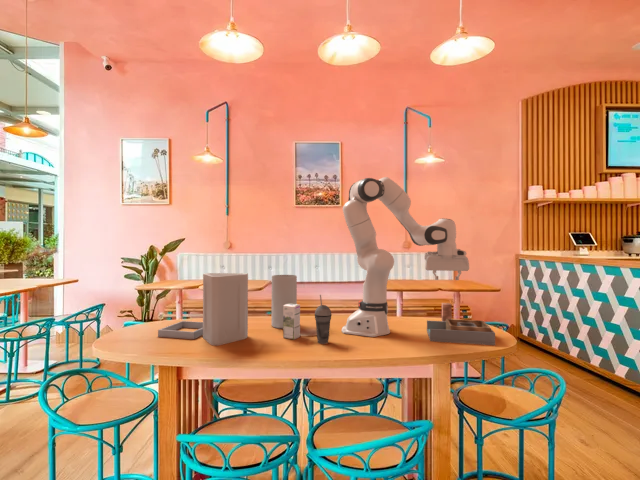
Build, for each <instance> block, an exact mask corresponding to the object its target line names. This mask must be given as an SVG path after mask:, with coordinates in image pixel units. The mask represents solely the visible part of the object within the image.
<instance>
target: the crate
mask: <svg viewBox="0 0 640 480" xmlns="http://www.w3.org/2000/svg"><path fill="white" fill-rule="evenodd" d="M491 329H492V328H491V327H490V326H489V325H488V324H487V323H486V322H485V321H484V320H475V319H457V318H452V319H446V330H461V331H479V332H491Z"/></svg>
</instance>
